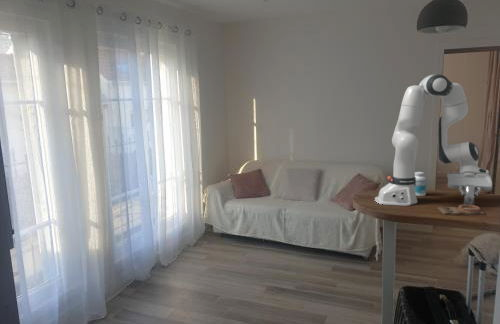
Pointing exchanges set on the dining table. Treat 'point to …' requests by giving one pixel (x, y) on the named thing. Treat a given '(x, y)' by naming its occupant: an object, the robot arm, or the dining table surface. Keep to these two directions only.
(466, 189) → the steel peg
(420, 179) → the pill bottle
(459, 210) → the gauge board
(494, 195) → the dining table surface
